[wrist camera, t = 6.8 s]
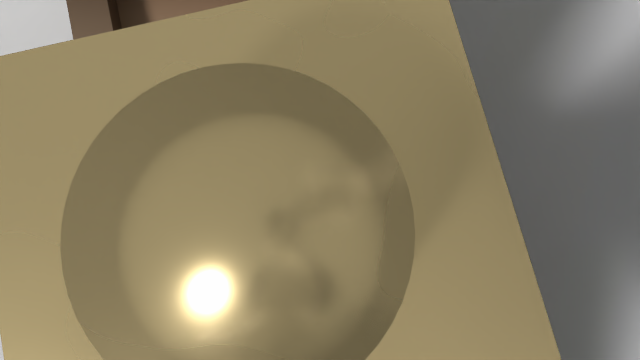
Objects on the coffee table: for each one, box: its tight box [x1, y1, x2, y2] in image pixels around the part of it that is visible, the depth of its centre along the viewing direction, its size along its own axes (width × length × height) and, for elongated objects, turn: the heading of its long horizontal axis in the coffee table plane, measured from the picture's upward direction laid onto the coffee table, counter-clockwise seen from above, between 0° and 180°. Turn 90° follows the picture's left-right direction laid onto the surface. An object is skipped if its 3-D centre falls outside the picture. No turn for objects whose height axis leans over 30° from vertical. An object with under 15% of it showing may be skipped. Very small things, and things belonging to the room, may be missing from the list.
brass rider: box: [0, 0, 561, 360], centre depth 9 cm, size 4×4×11 cm
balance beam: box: [66, 0, 248, 39], centre depth 15 cm, size 24×10×12 cm, turn 14°
